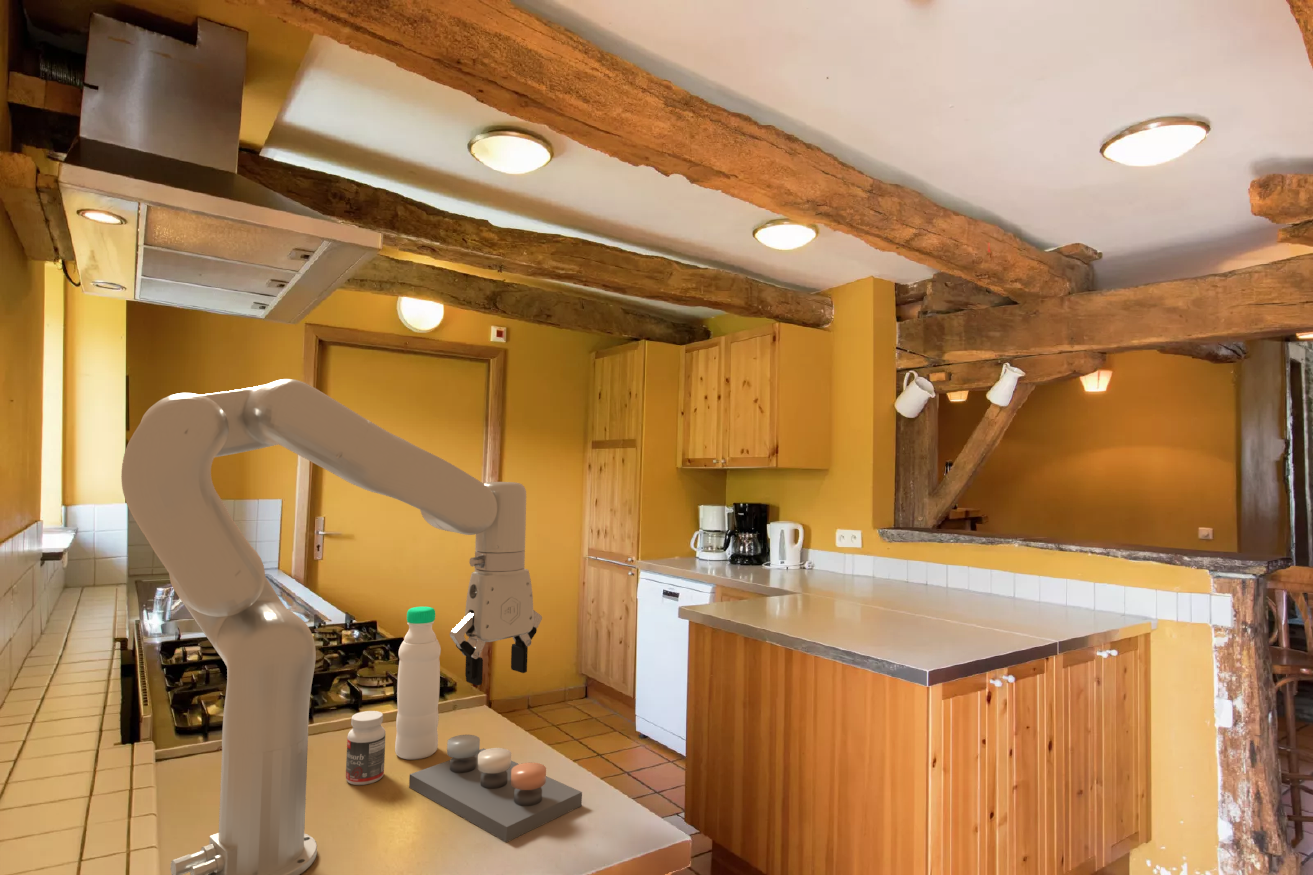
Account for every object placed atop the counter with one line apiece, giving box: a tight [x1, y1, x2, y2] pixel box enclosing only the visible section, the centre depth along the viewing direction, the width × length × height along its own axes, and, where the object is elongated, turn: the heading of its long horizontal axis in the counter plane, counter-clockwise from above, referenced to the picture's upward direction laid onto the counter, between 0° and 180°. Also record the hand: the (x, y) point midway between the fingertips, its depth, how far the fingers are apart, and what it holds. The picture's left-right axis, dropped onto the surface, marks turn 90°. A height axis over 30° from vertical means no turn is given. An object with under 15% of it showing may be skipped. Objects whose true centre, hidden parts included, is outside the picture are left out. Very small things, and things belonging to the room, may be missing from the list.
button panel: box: [408, 747, 583, 843], centre depth 110 cm, size 14×24×3 cm, turn 50°
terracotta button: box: [511, 762, 547, 790], centre depth 105 cm, size 5×5×2 cm
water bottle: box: [394, 606, 442, 761], centre depth 126 cm, size 7×7×25 cm
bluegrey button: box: [446, 734, 481, 758], centre depth 115 cm, size 5×5×2 cm
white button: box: [478, 747, 512, 773], centre depth 110 cm, size 5×5×2 cm
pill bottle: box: [345, 710, 386, 786], centre depth 115 cm, size 6×6×10 cm
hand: (497, 676), depth 110 cm, fingers open, 7 cm apart
